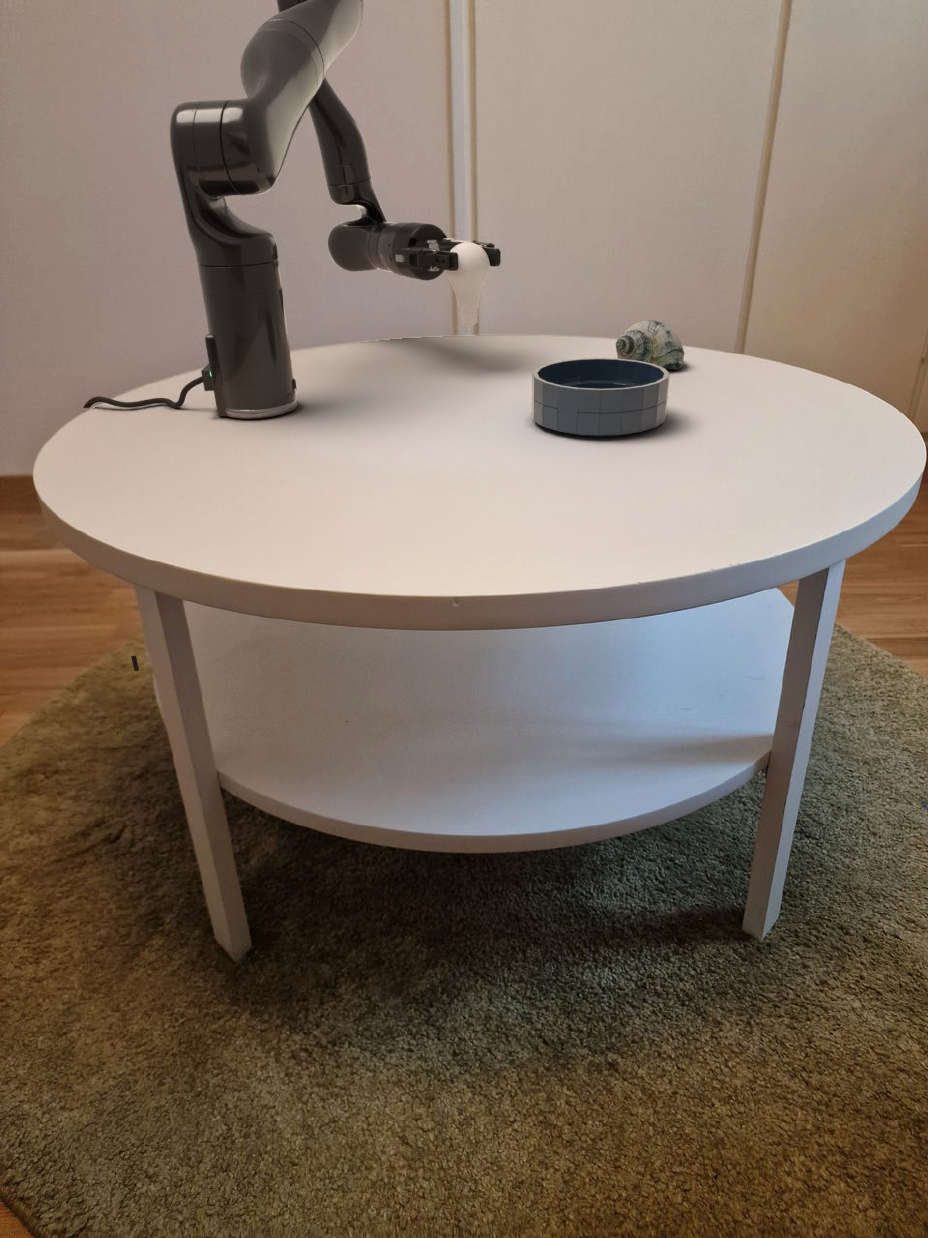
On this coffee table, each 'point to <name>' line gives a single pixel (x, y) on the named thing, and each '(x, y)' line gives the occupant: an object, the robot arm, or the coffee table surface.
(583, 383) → the bowl
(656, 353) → the seashell
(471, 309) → the lightbulb
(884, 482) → the coffee table surface
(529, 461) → the coffee table surface
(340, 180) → the robot arm
